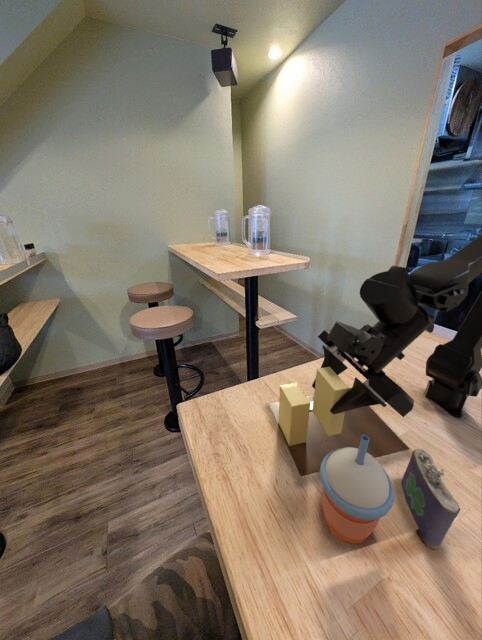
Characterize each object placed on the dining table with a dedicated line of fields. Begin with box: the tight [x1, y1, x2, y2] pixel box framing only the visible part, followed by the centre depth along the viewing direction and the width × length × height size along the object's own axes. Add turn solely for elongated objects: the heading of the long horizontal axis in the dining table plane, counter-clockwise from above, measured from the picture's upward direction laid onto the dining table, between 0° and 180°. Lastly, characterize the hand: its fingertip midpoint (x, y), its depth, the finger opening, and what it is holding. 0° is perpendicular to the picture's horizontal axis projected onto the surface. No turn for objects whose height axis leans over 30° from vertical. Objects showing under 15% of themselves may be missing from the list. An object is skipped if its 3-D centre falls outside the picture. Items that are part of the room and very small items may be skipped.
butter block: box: [278, 382, 310, 446], centre depth 49 cm, size 4×6×10 cm, turn 12°
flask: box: [400, 448, 461, 550], centre depth 36 cm, size 9×3×11 cm, turn 172°
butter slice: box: [312, 367, 350, 436], centre depth 44 cm, size 2×6×10 cm, turn 12°
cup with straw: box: [319, 435, 395, 544], centre depth 34 cm, size 9×9×18 cm
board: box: [268, 387, 410, 477], centre depth 53 cm, size 22×18×2 cm
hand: (321, 399), depth 44 cm, fingers closed on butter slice, 6 cm apart
